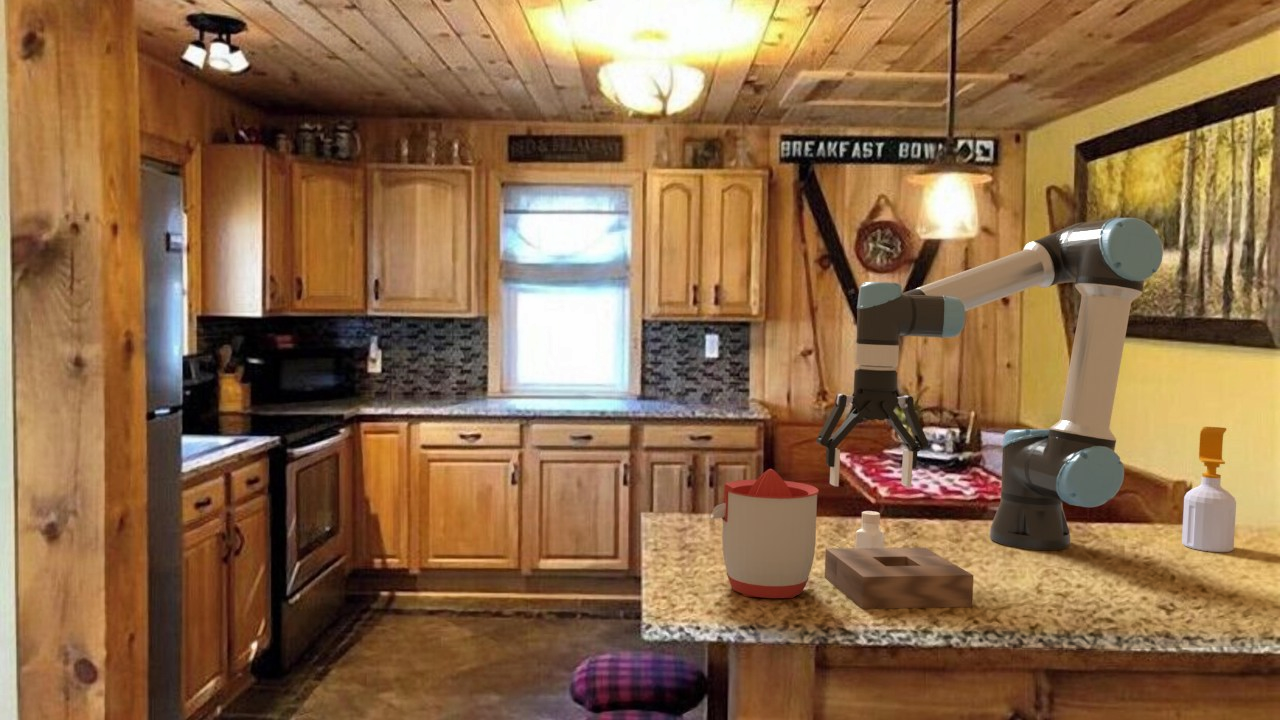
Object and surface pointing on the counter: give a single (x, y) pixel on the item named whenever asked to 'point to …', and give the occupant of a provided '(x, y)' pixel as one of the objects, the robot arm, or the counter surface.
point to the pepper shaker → (870, 531)
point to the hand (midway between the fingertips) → (870, 485)
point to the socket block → (898, 578)
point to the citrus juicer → (768, 535)
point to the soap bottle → (1209, 501)
